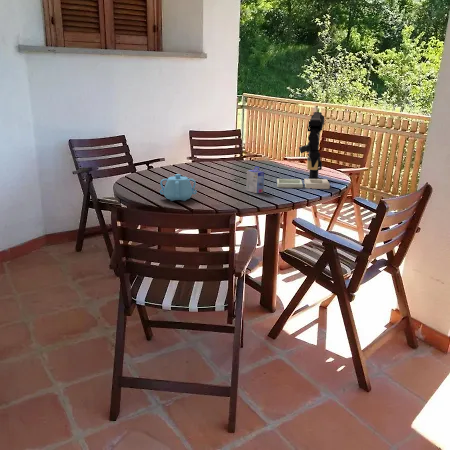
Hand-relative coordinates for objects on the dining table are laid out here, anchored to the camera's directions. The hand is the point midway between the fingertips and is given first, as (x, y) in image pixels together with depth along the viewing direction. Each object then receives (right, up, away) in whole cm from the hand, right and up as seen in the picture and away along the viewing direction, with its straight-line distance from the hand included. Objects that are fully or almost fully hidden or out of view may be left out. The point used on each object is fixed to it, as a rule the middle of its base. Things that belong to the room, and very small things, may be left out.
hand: (312, 166), depth 273 cm
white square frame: (+3, -12, +3) cm, 12 cm away
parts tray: (-13, -11, +5) cm, 18 cm away
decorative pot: (-78, -22, -29) cm, 86 cm away
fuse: (0, -1, 0) cm, 2 cm away
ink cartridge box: (-36, -16, -11) cm, 41 cm away
